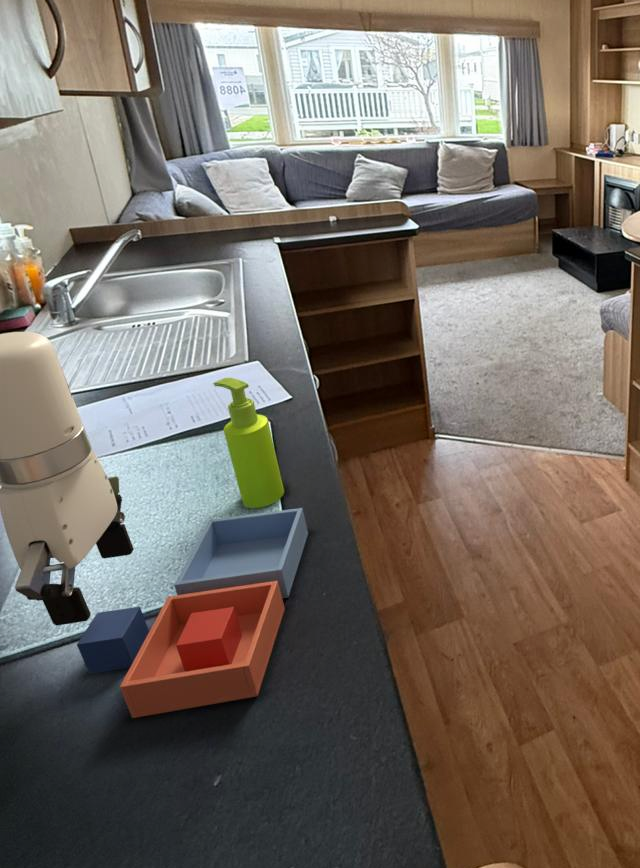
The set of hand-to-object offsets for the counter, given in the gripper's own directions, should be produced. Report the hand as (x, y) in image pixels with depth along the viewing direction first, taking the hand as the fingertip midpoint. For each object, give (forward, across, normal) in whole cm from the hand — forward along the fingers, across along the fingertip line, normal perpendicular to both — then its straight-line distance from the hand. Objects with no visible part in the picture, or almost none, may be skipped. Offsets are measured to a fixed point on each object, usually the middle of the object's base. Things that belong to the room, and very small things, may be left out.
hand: (97, 586), depth 71 cm
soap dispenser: (+10, -28, +8) cm, 31 cm away
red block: (+10, +3, +11) cm, 15 cm away
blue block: (+10, 0, 0) cm, 10 cm away
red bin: (+10, +3, +10) cm, 15 cm away
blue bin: (+10, -11, +10) cm, 18 cm away
